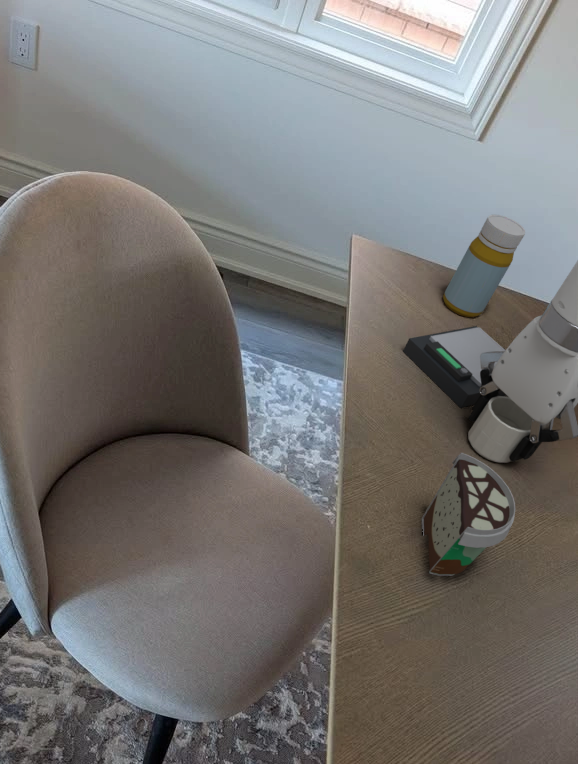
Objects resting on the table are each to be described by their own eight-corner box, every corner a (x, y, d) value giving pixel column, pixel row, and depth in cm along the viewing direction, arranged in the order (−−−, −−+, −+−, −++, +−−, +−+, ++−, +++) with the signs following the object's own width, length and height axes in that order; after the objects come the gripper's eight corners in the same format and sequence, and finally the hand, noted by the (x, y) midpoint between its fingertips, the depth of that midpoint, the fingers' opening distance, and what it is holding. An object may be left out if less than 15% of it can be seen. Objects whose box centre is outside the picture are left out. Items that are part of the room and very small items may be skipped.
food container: (477, 607, 80) (527, 549, 73) (423, 590, 80) (467, 531, 73) (470, 524, 89) (514, 465, 82) (421, 509, 89) (460, 449, 82)
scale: (469, 338, 119) (480, 318, 117) (527, 390, 113) (540, 371, 110) (402, 351, 112) (412, 330, 109) (460, 408, 105) (473, 388, 103)
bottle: (455, 290, 129) (499, 210, 119) (488, 313, 127) (536, 232, 116) (433, 299, 125) (477, 216, 115) (466, 323, 123) (514, 240, 112)
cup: (489, 425, 104) (511, 392, 100) (524, 459, 101) (548, 426, 96) (456, 434, 101) (478, 401, 96) (491, 470, 97) (515, 436, 93)
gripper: (650, 370, 85) (561, 477, 97) (539, 282, 93) (471, 391, 106) (612, 380, 81) (525, 491, 93) (500, 288, 90) (434, 400, 102)
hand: (497, 437), depth 99 cm, fingers open, 7 cm apart
